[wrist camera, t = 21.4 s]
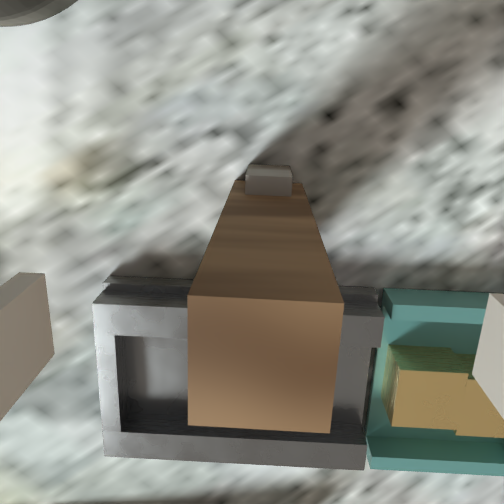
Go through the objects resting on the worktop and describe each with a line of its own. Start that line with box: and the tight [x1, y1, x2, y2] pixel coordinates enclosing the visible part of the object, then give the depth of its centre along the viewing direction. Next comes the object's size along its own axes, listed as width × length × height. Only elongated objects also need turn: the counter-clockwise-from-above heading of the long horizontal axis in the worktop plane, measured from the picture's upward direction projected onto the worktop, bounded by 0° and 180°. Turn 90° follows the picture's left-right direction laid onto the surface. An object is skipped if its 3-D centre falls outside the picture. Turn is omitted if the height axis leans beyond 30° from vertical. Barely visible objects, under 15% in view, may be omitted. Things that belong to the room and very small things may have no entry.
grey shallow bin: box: [92, 276, 385, 470], centre depth 31 cm, size 12×17×3 cm
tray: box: [365, 288, 504, 476], centre depth 31 cm, size 12×10×2 cm
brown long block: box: [187, 164, 344, 433], centre depth 21 cm, size 6×4×17 cm, turn 178°
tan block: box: [453, 353, 504, 438], centre depth 30 cm, size 4×4×3 cm
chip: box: [381, 344, 469, 430], centre depth 30 cm, size 4×4×3 cm
